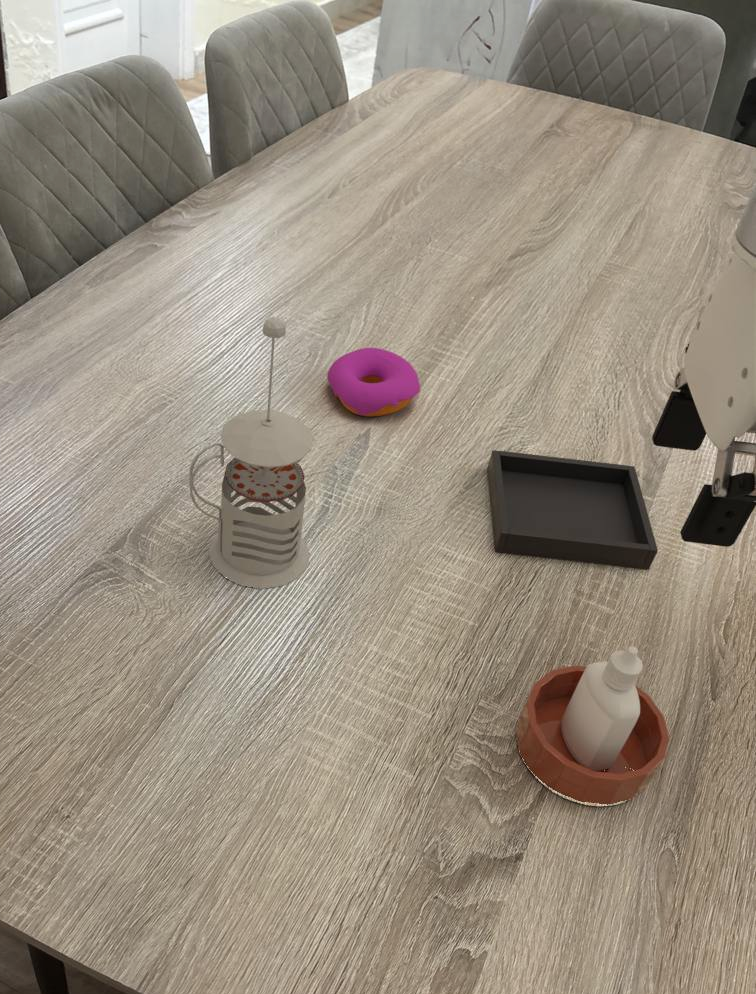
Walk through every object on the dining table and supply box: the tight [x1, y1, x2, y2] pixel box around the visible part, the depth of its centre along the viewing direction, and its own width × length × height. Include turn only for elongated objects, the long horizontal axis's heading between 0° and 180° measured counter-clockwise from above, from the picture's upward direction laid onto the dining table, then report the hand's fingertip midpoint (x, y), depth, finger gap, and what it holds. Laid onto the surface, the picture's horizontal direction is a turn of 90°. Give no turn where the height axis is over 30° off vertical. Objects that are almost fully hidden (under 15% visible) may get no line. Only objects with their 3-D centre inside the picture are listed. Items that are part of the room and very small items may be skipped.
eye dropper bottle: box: [561, 645, 644, 771], centre depth 73 cm, size 4×6×12 cm
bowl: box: [515, 665, 670, 805], centre depth 76 cm, size 11×11×4 cm
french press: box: [188, 316, 314, 590], centre depth 82 cm, size 10×12×25 cm
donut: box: [326, 347, 421, 417], centre depth 110 cm, size 10×10×5 cm
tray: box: [486, 449, 659, 570], centre depth 98 cm, size 16×14×3 cm
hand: (688, 490), depth 61 cm, fingers open, 9 cm apart
